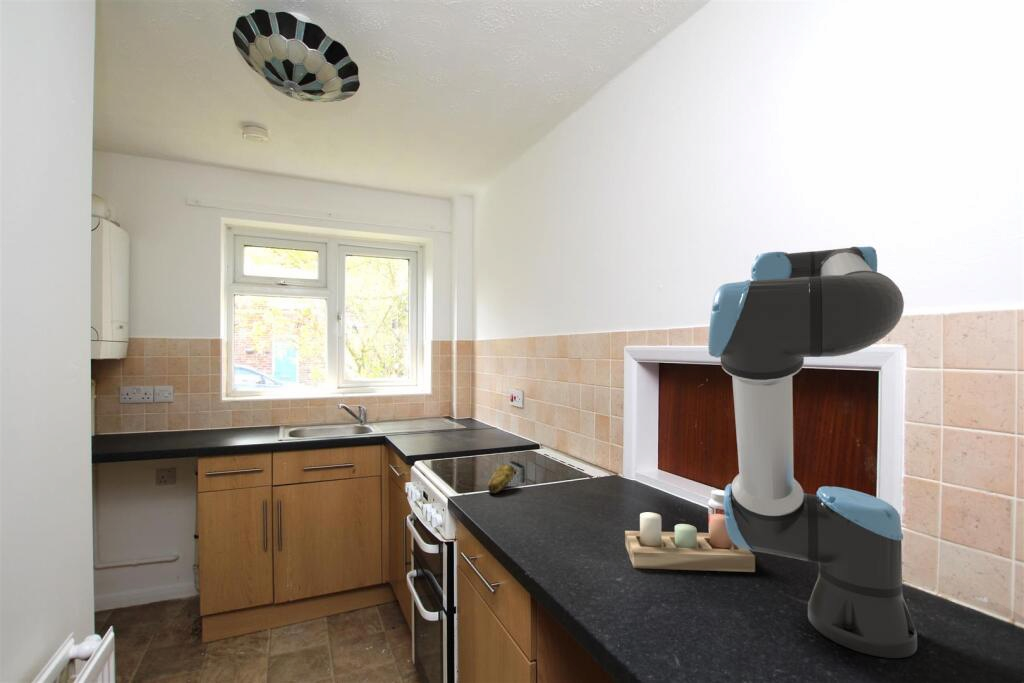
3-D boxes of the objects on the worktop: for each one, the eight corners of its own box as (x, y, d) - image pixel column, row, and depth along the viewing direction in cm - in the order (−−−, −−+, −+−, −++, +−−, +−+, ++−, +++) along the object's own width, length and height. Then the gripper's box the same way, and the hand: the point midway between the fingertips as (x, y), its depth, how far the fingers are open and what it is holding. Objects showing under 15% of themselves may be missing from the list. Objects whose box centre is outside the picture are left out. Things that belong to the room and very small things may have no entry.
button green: (699, 558, 106) (699, 532, 106) (678, 558, 106) (677, 531, 106) (693, 549, 110) (693, 524, 110) (672, 548, 111) (672, 523, 111)
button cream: (663, 546, 106) (663, 520, 106) (642, 545, 107) (642, 519, 107) (658, 537, 111) (658, 512, 111) (638, 537, 111) (638, 512, 111)
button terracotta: (735, 548, 105) (735, 521, 105) (714, 547, 105) (713, 521, 105) (727, 539, 110) (727, 514, 110) (707, 538, 110) (706, 513, 110)
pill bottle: (739, 536, 120) (738, 493, 120) (725, 541, 117) (725, 497, 117) (717, 528, 125) (716, 487, 125) (703, 533, 122) (703, 491, 122)
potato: (478, 491, 158) (477, 468, 159) (505, 483, 167) (505, 461, 167) (494, 497, 152) (494, 472, 153) (521, 488, 161) (521, 465, 161)
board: (755, 571, 101) (754, 555, 101) (633, 568, 103) (633, 552, 103) (733, 548, 113) (733, 533, 113) (625, 544, 115) (625, 530, 115)
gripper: (804, 316, 104) (805, 421, 104) (776, 319, 117) (777, 412, 117) (769, 316, 105) (770, 421, 104) (745, 319, 118) (746, 412, 117)
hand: (774, 416), depth 111 cm, fingers closed
